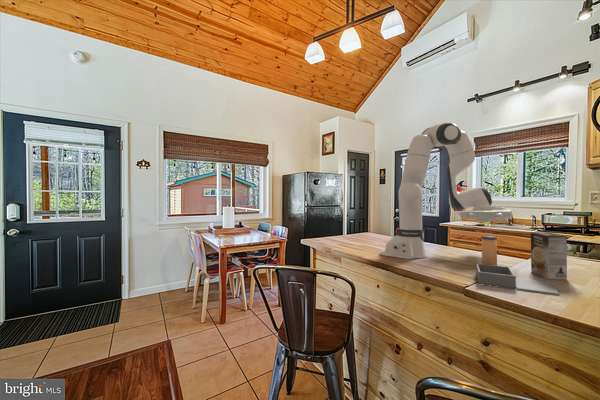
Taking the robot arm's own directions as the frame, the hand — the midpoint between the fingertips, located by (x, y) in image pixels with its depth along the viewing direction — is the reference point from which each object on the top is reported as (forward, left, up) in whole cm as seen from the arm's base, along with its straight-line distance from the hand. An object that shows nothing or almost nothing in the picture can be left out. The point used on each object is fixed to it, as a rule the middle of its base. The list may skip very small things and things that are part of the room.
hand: (486, 215), depth 113 cm
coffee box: (+18, -11, -22) cm, 30 cm away
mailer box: (+5, -28, -22) cm, 36 cm away
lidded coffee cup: (0, -12, -22) cm, 25 cm away
